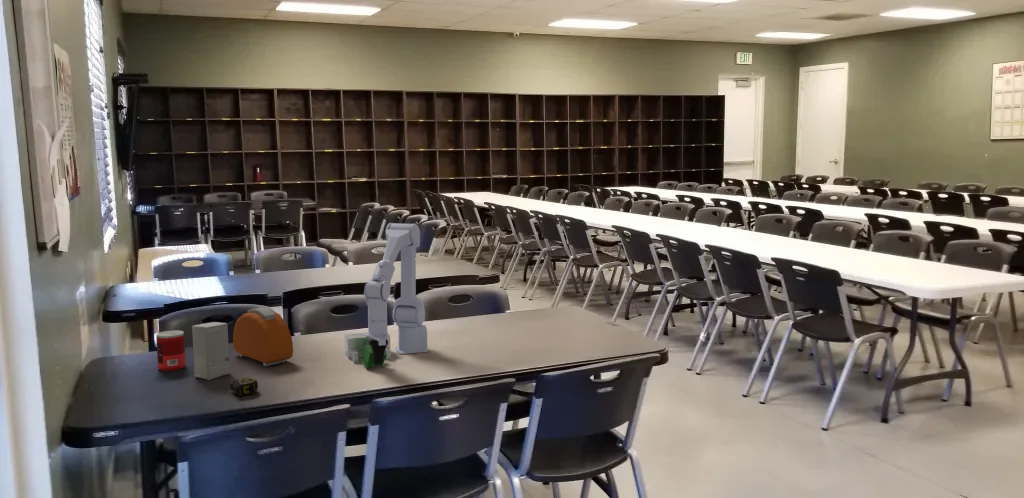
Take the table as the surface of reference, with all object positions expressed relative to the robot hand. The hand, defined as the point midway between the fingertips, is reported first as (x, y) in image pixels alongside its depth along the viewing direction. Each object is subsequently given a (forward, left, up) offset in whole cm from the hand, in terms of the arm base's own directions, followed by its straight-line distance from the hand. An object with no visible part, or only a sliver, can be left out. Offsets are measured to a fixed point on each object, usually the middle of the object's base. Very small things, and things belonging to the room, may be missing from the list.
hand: (378, 362), depth 232 cm
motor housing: (0, -17, -2) cm, 17 cm away
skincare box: (+48, -12, -3) cm, 49 cm away
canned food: (+60, -25, -3) cm, 65 cm away
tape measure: (+40, +10, -3) cm, 41 cm away
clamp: (0, -6, -3) cm, 7 cm away
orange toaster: (+33, -26, -3) cm, 42 cm away
